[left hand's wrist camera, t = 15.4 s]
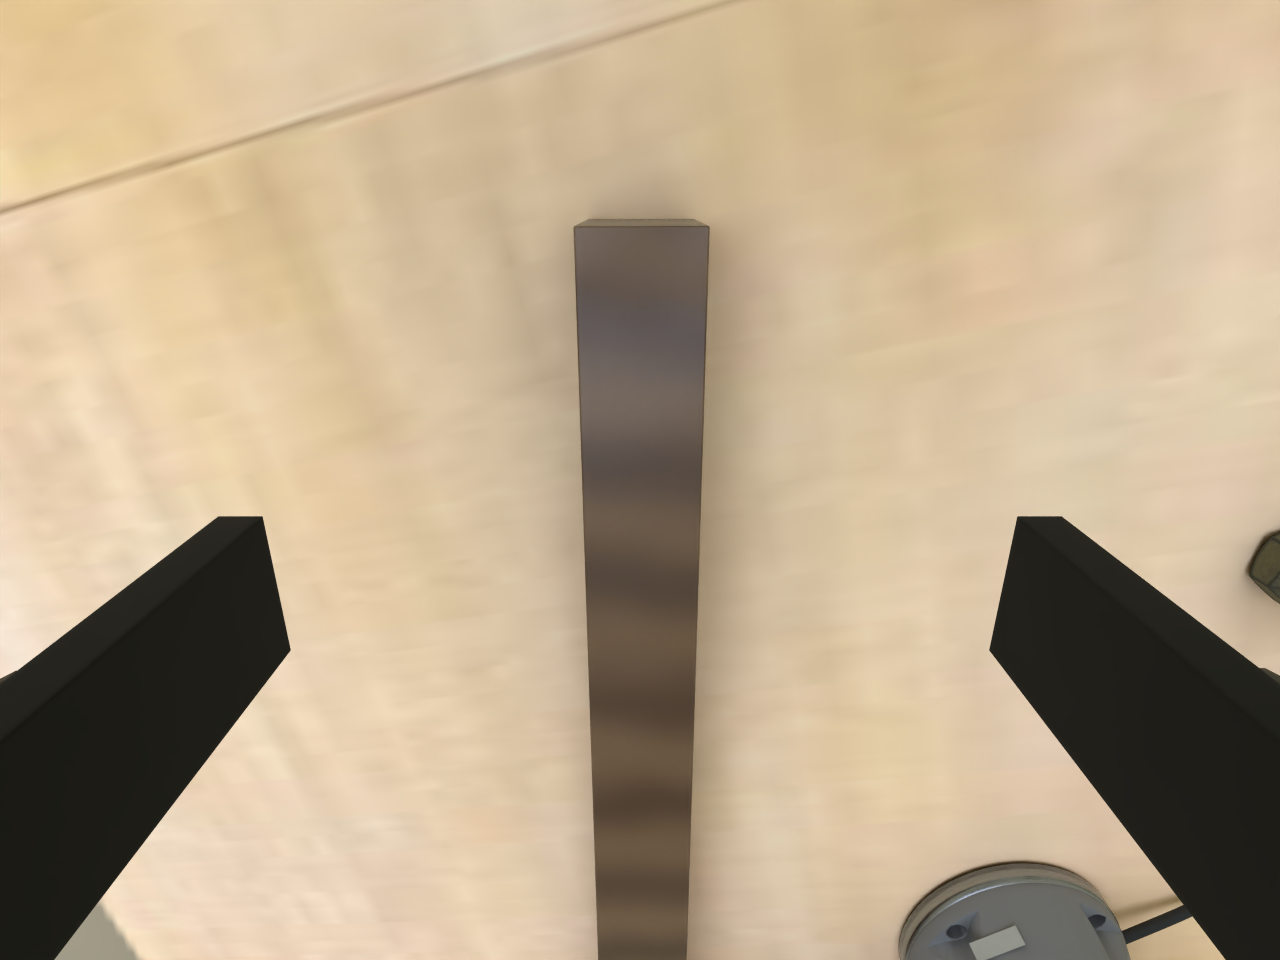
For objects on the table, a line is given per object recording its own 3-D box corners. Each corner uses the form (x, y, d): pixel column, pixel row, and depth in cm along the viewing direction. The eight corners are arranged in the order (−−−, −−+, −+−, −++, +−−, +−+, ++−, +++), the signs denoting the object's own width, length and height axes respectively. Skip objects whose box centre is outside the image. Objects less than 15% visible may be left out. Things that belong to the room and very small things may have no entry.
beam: (587, 219, 35) (573, 226, 28) (695, 219, 35) (709, 225, 28) (611, 1096, 61) (606, 1221, 53) (673, 1096, 61) (678, 1221, 53)
